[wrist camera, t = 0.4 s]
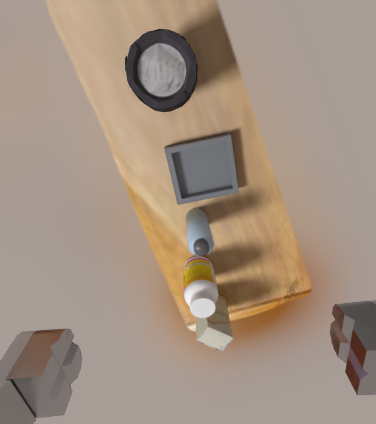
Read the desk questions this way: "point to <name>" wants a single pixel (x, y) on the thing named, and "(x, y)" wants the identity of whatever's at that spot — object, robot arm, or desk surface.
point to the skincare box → (215, 327)
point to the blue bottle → (199, 232)
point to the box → (202, 168)
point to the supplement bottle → (200, 286)
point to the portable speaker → (161, 70)
